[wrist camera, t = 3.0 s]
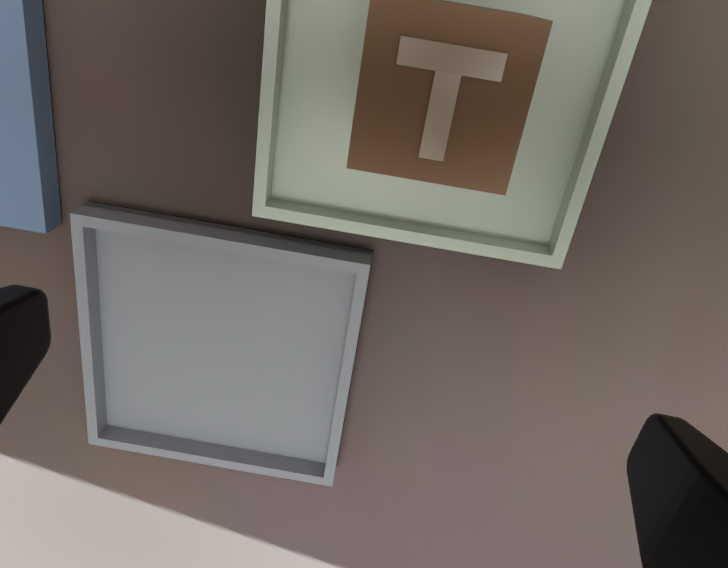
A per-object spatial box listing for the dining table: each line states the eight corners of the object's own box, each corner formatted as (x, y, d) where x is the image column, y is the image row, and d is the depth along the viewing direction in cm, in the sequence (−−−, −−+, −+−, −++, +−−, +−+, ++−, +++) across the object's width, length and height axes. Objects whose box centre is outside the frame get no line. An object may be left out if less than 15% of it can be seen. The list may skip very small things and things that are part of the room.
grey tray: (335, 465, 25) (332, 486, 24) (102, 424, 25) (88, 444, 24) (372, 250, 20) (370, 265, 19) (88, 201, 20) (69, 213, 19)
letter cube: (488, 154, 18) (505, 196, 15) (360, 133, 18) (345, 169, 15) (524, 13, 16) (554, 20, 13) (381, -11, 16) (370, -10, 13)
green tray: (553, 254, 20) (561, 269, 19) (260, 203, 20) (251, 216, 19) (667, -94, 15) (685, -100, 14) (287, -157, 15) (278, -168, 14)
